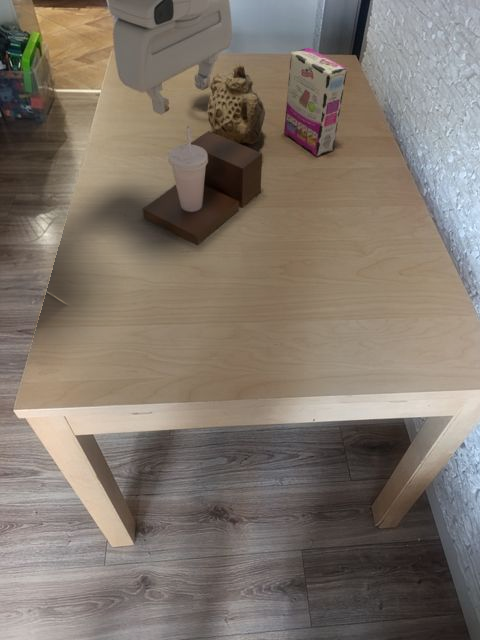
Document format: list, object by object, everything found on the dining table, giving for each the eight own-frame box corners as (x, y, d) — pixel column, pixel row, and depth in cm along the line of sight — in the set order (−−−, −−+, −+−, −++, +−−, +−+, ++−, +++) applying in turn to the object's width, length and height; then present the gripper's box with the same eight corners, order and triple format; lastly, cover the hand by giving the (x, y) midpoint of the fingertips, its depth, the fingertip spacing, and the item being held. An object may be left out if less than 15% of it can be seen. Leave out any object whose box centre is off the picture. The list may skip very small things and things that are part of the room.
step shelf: (143, 217, 88) (137, 178, 82) (210, 169, 98) (208, 130, 92) (197, 245, 85) (194, 205, 78) (260, 192, 95) (262, 153, 88)
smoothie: (217, 202, 89) (215, 126, 78) (195, 221, 85) (189, 144, 74) (188, 189, 91) (182, 113, 80) (165, 207, 87) (156, 130, 76)
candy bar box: (334, 150, 105) (349, 67, 92) (316, 157, 103) (329, 74, 90) (300, 127, 110) (309, 45, 97) (282, 133, 108) (289, 51, 95)
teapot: (195, 120, 110) (190, 45, 98) (244, 112, 113) (245, 38, 101) (230, 173, 98) (229, 95, 86) (283, 162, 101) (290, 86, 89)
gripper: (206, -37, 69) (209, 69, 80) (97, 3, 58) (118, 119, 69) (243, -26, 67) (241, 81, 78) (138, 17, 56) (152, 134, 67)
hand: (182, 99), depth 74 cm, fingers open, 8 cm apart
